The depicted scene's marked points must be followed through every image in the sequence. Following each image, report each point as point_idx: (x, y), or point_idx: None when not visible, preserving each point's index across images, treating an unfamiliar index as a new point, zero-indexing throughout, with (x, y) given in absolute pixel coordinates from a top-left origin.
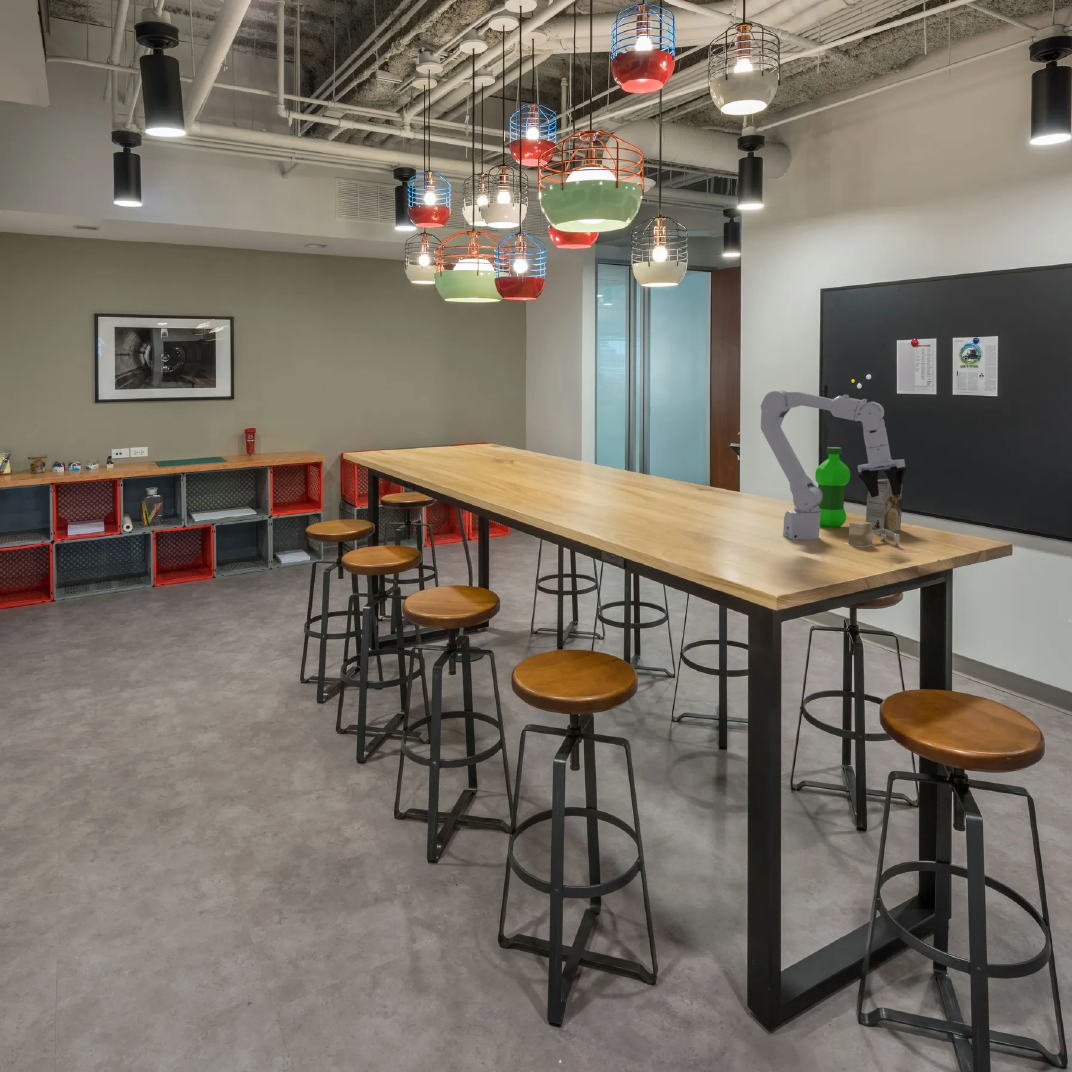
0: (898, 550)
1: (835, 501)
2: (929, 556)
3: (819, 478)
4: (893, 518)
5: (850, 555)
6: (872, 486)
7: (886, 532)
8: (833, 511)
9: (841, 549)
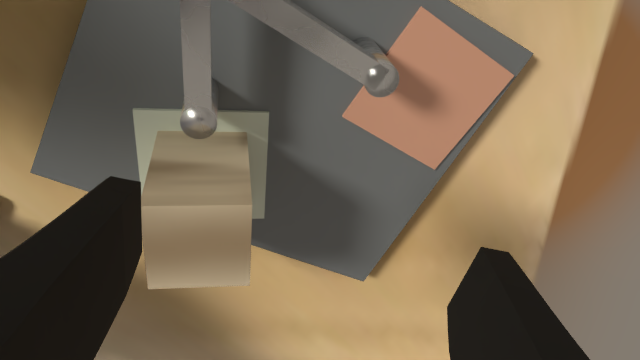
0: (423, 133)
1: None
2: (542, 17)
3: None
4: None
5: (286, 285)
6: (72, 349)
7: (258, 17)
8: None
9: None
